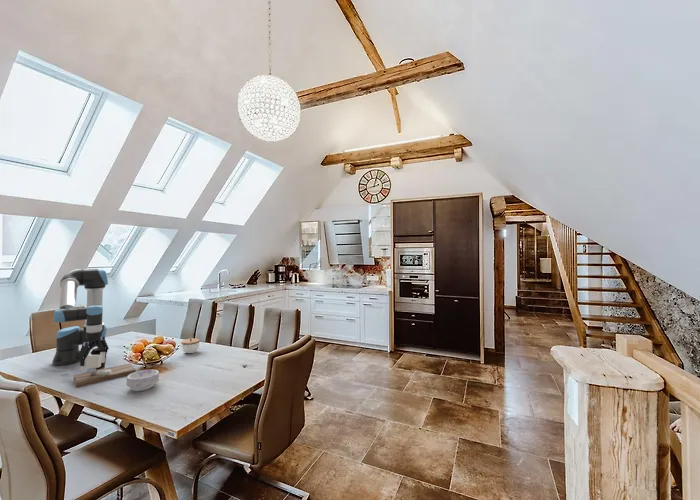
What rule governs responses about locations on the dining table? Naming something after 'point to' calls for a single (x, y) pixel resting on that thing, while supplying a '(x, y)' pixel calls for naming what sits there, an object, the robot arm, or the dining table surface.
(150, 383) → the white floral bowl
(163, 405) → the dining table surface
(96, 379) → the board
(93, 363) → the white piece
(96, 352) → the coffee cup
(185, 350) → the lidded bowl
